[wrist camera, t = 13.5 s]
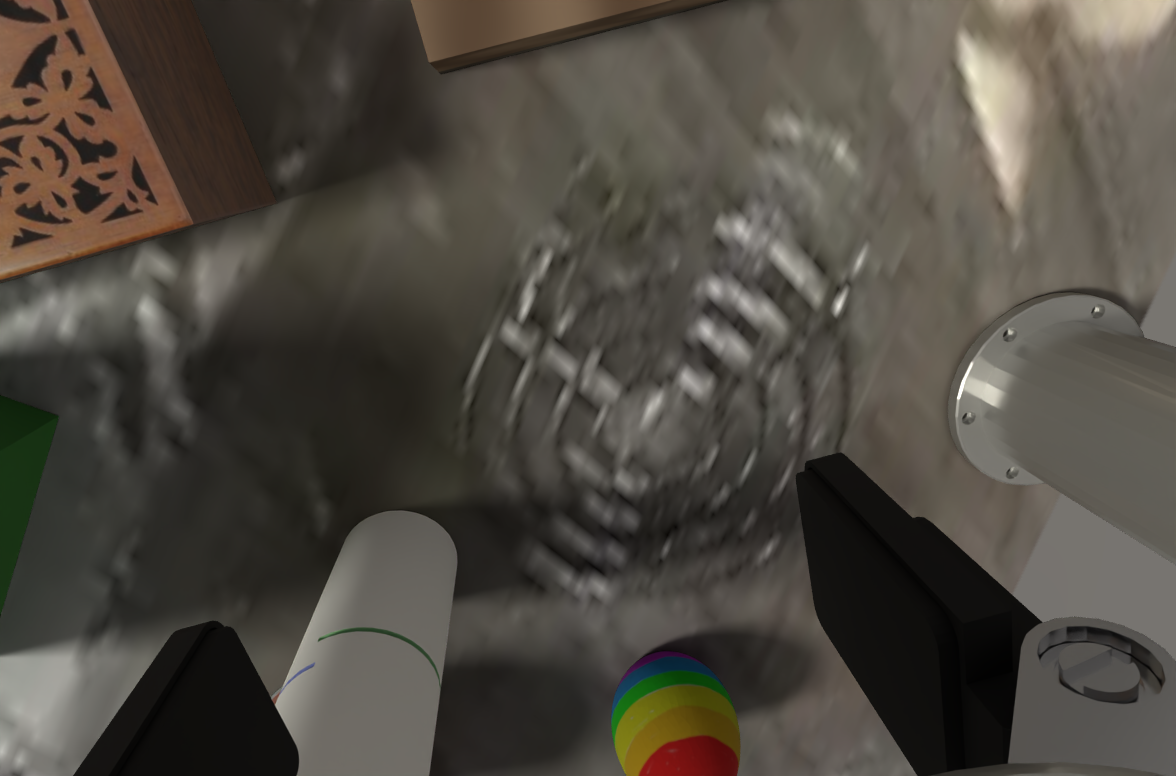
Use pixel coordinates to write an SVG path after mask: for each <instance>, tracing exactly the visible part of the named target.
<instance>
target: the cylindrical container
mask: <svg viewBox="0 0 1176 776" xmlns="http://www.w3.org/2000/svg"><path fill="white" fill-rule="evenodd" d="M456 571H457V552H456V548H455V545H454V542H453V541H452V539H451V537H450V535H449V534H448V533H447V532H446V531H445V529H444V528H443V527H442V526H440V525H439V524H438V523H437V522H435V521H434V520H432V519H430V518H428V517H426V516H424V515H421V514H418V513H415V512H409V511H403V510H400V511H386V512H382V513H377V514H375V515H373V516H370V517H368V518H366V519H365V520H363V521H361V522H360V523H358V524H357V525H356V526H355V527H354V528H353V529H352V530H351V532H350V533H349V534H348V536H347V537H346V539H345V542H344V544H343V546H342V549H341V551H340V553H339V556H338V558H337V560H336V563H335V565H334V567H333V570H332V572H331V574H330V577H329V579H328V581H327V584H326V586H325V588H324V591H323V593H322V595H321V598H320V600H319V602H318V605H317V607H316V609H315V612H314V614H313V616H312V619H311V621H310V623H309V626H308V628H307V631H306V633H305V635H304V638H303V640H302V642H301V645H300V647H299V649H298V652H297V654H296V657H295V659H294V661H293V664H292V666H291V668H290V671H289V673H288V675H287V678H286V680H285V683H284V685H283V687H282V690H281V692H280V695H279V697H278V699H277V701H276V704H275V706H276V708H277V710H278V712H279V714H280V716H281V718H282V719H283V721H284V723H285V725H286V727H287V729H288V731H289V733H290V734H291V736H292V738H293V740H294V742H295V744H296V746H297V749H298V753H299V769H298V773H297V776H429V773H430V765H431V758H432V750H433V743H434V735H435V728H436V720H437V713H438V705H439V697H440V690H441V683H442V675H443V668H444V661H445V653H446V646H447V638H448V631H449V623H450V616H451V608H452V601H453V593H454V586H455V578H456Z"/></svg>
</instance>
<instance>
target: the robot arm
mask: <svg viewBox="0 0 1176 776" xmlns="http://www.w3.org/2000/svg"><path fill="white" fill-rule="evenodd" d="M948 422H949V427H950V432H951V436H952V438H953V440H954V442H955V445H956V447H957V449H958V451H959V452H960V453H961V454H962V455H963V457H964V458H965V459H966V460H967V461H968V462H969V463H970V464H971V465H973V466H974V467H975V468H977V469H978V470H979V471H981V472H982V473H984V474H986V475H987V476H989V477H991V478H993V479H994V480H997V481H1000V482H1003V483H1007V484H1014V485H1036V484H1044V483H1046V484H1048V485H1049V486H1051V487H1053V488H1054V489H1056V490H1057V491H1059V492H1060V493H1062V494H1064V495H1065V496H1067V497H1068V498H1070V499H1072V500H1073V501H1075V502H1076V503H1078V504H1079V505H1081V506H1083V507H1084V508H1086V509H1087V510H1089V511H1090V512H1092V513H1094V514H1095V515H1097V516H1098V517H1100V518H1102V519H1103V520H1105V521H1106V522H1108V523H1110V524H1111V525H1113V526H1114V527H1116V528H1117V529H1119V530H1120V531H1122V532H1124V533H1125V534H1127V535H1128V536H1130V537H1131V538H1133V539H1135V540H1136V541H1138V542H1139V543H1141V544H1143V545H1144V546H1146V547H1147V548H1149V549H1151V550H1152V551H1154V552H1155V553H1157V554H1158V555H1160V556H1162V557H1163V558H1165V559H1166V560H1168V561H1169V562H1171V563H1173V564H1174V565H1176V347H1173V346H1169V345H1167V344H1163V343H1160V342H1157V341H1153V340H1150V339H1147V338H1144V335H1143V332H1142V330H1141V329H1140V327H1139V326H1138V324H1137V322H1136V321H1135V319H1134V318H1133V317H1132V316H1131V315H1130V314H1129V313H1128V312H1126V311H1125V310H1124V309H1123V308H1122V307H1120V306H1118V305H1116V304H1115V303H1113V302H1111V301H1109V300H1106V299H1103V298H1099V297H1096V296H1092V295H1089V294H1081V293H1074V292H1066V293H1053V294H1049V295H1045V296H1041V297H1038V298H1034V299H1032V300H1029V301H1027V302H1025V303H1023V304H1021V305H1018V306H1016V307H1014V308H1013V309H1011V310H1010V311H1008V312H1007V313H1005V314H1004V315H1002V316H1001V317H999V318H998V319H997V320H996V321H994V322H993V323H992V324H991V325H990V326H989V327H988V328H987V329H986V330H985V331H983V332H982V333H981V335H980V336H979V337H978V338H977V340H976V341H975V342H974V343H973V345H972V346H971V347H970V348H969V349H968V351H967V353H966V355H965V356H964V358H963V360H962V362H961V363H960V365H959V367H958V369H957V372H956V374H955V377H954V380H953V382H952V385H951V390H950V395H949V400H948ZM796 485H797V492H798V499H799V506H800V512H801V519H802V526H803V532H804V539H805V546H806V553H807V559H808V566H809V573H810V580H811V586H812V593H813V600H814V606H815V610H816V613H817V616H818V619H819V621H820V624H821V626H822V627H823V629H824V631H825V632H826V634H827V635H828V637H829V639H830V640H831V642H832V643H833V645H834V646H835V648H836V650H837V651H838V653H839V654H840V656H841V657H842V659H843V660H844V662H845V664H846V665H847V667H848V668H849V670H850V671H851V673H852V674H853V676H854V678H855V679H856V681H857V682H858V684H859V685H860V687H861V688H862V690H863V692H864V693H865V695H866V696H867V698H868V699H869V701H870V703H871V704H872V706H873V707H874V709H875V710H876V712H877V713H878V715H879V717H880V718H881V720H882V721H883V723H884V724H885V726H886V727H887V729H888V731H889V732H890V734H891V735H892V737H893V738H894V740H895V741H896V743H897V745H898V746H899V748H900V749H901V751H902V752H903V754H904V755H905V757H906V759H907V760H908V762H909V763H910V765H911V766H912V768H913V770H914V771H915V773H916V774H917V776H1176V661H1175V660H1174V659H1173V658H1172V656H1171V655H1170V654H1169V653H1168V652H1167V651H1166V650H1165V649H1164V648H1163V647H1161V646H1160V645H1159V644H1157V643H1156V642H1154V641H1153V640H1151V639H1150V638H1148V637H1147V636H1145V635H1143V634H1141V633H1139V632H1137V631H1134V630H1132V629H1130V628H1128V627H1125V626H1123V625H1120V624H1116V623H1112V622H1109V621H1104V620H1101V619H1094V618H1083V617H1066V618H1056V619H1052V620H1049V621H1046V622H1042V621H1040V620H1039V619H1038V618H1037V617H1036V616H1035V615H1034V614H1033V613H1032V612H1030V611H1029V610H1028V609H1027V608H1026V607H1025V606H1024V605H1022V603H1020V602H1019V601H1018V600H1017V599H1016V598H1015V597H1014V596H1013V595H1012V594H1010V593H1009V592H1008V591H1007V590H1006V589H1005V588H1004V587H1003V586H1002V585H1000V584H999V583H998V582H997V581H996V580H995V579H994V578H993V577H992V576H990V575H989V574H988V573H987V572H986V571H985V570H984V569H983V568H982V567H980V566H979V565H978V564H977V563H976V562H975V561H974V560H973V559H972V558H971V557H969V556H968V555H967V554H966V553H965V552H964V551H963V550H962V549H961V548H959V547H958V546H957V545H956V544H955V543H954V542H953V541H952V540H951V539H949V538H948V537H947V536H946V535H945V534H944V533H943V532H942V531H941V530H939V529H938V528H937V527H936V526H935V525H934V524H933V523H932V522H930V521H929V520H927V519H926V518H923V517H915V518H912V517H911V516H910V515H909V514H908V513H907V512H906V511H904V510H903V509H902V508H901V507H900V506H899V505H898V504H897V503H896V502H895V501H894V500H893V499H892V498H891V497H889V496H888V495H887V494H886V493H885V492H884V491H883V490H882V489H881V488H880V487H879V486H878V485H877V484H876V483H874V482H873V481H872V480H871V479H870V478H869V477H868V476H867V475H866V474H865V473H864V472H863V471H862V470H860V469H859V468H858V467H857V466H856V465H855V464H854V463H853V462H852V461H851V460H850V459H849V458H848V457H847V456H845V455H844V454H843V453H836V454H832V455H828V456H825V457H821V458H817V459H813V460H810V461H807V462H806V463H805V471H803V472H800V473H797V474H796ZM298 769H299V753H298V749H297V746H296V744H295V742H294V740H293V738H292V736H291V734H290V733H289V731H288V729H287V727H286V725H285V723H284V721H283V719H282V718H281V716H280V714H279V712H278V710H277V708H276V706H275V705H274V703H273V701H272V699H271V697H270V695H269V693H268V691H267V690H266V688H265V686H264V684H263V682H262V680H261V678H260V676H259V675H258V673H257V671H256V669H255V667H254V665H253V663H252V662H251V660H250V658H249V656H248V654H247V652H246V650H245V648H244V647H243V645H242V643H241V641H240V639H239V637H238V635H237V633H236V632H235V631H234V629H232V628H231V627H228V626H226V627H224V626H223V625H222V624H221V623H219V622H218V621H210V622H206V623H202V624H198V625H195V626H191V627H187V628H183V629H180V630H177V631H175V632H174V633H173V634H172V635H171V636H170V638H169V639H168V641H167V642H166V643H165V645H164V646H163V648H162V649H161V651H160V652H159V653H158V655H157V656H156V658H155V659H154V661H153V662H152V664H151V665H150V666H149V668H148V669H147V671H146V672H145V674H144V675H143V676H142V678H141V679H140V681H139V682H138V684H137V685H136V686H135V688H134V689H133V691H132V692H131V694H130V695H129V696H128V698H127V699H126V701H125V702H124V704H123V705H122V706H121V708H120V709H119V711H118V712H117V714H116V715H115V716H114V718H113V719H112V721H111V722H110V724H109V725H108V727H107V728H106V729H105V731H104V732H103V734H102V735H101V737H100V738H99V739H98V741H97V742H96V744H95V745H94V747H93V748H92V749H91V751H90V752H89V754H88V755H87V757H86V758H85V759H84V761H83V762H82V764H81V765H80V767H79V768H78V769H77V771H76V772H75V774H74V775H73V776H297V773H298Z"/></svg>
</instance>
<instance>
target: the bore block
mask: <svg viewBox="0 0 1176 776" xmlns="http://www.w3.org/2000/svg"><path fill="white" fill-rule="evenodd" d="M723 1H727V0H411V3H412V6H413V10H414V13H415V17H416V20H417V23H418V27H419V30H420V33H421V37H422V40H423V44H424V47H425V50H426V54H427V57H428V61H429V63H430V64H431V65H432V66H433V67H434V68H435V69H436V70H437V71H438V72H439V73H440V74H443V73H447V72H451V71H455V70H459V69H463V68H467V67H470V66H474V65H478V64H482V63H486V62H490V61H494V60H498V59H502V58H505V57H509V56H513V55H517V54H521V53H525V52H529V51H533V50H536V49H540V48H544V47H548V46H552V45H556V44H560V43H564V42H568V41H571V40H575V39H579V38H583V37H587V36H591V35H595V34H599V33H603V32H606V31H610V30H614V29H618V28H622V27H626V26H630V25H634V24H638V23H641V22H645V21H649V20H653V19H657V18H661V17H665V16H669V15H673V14H676V13H680V12H684V11H688V10H692V9H696V8H700V7H704V6H708V5H711V4H715V3H719V2H723Z"/></svg>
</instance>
